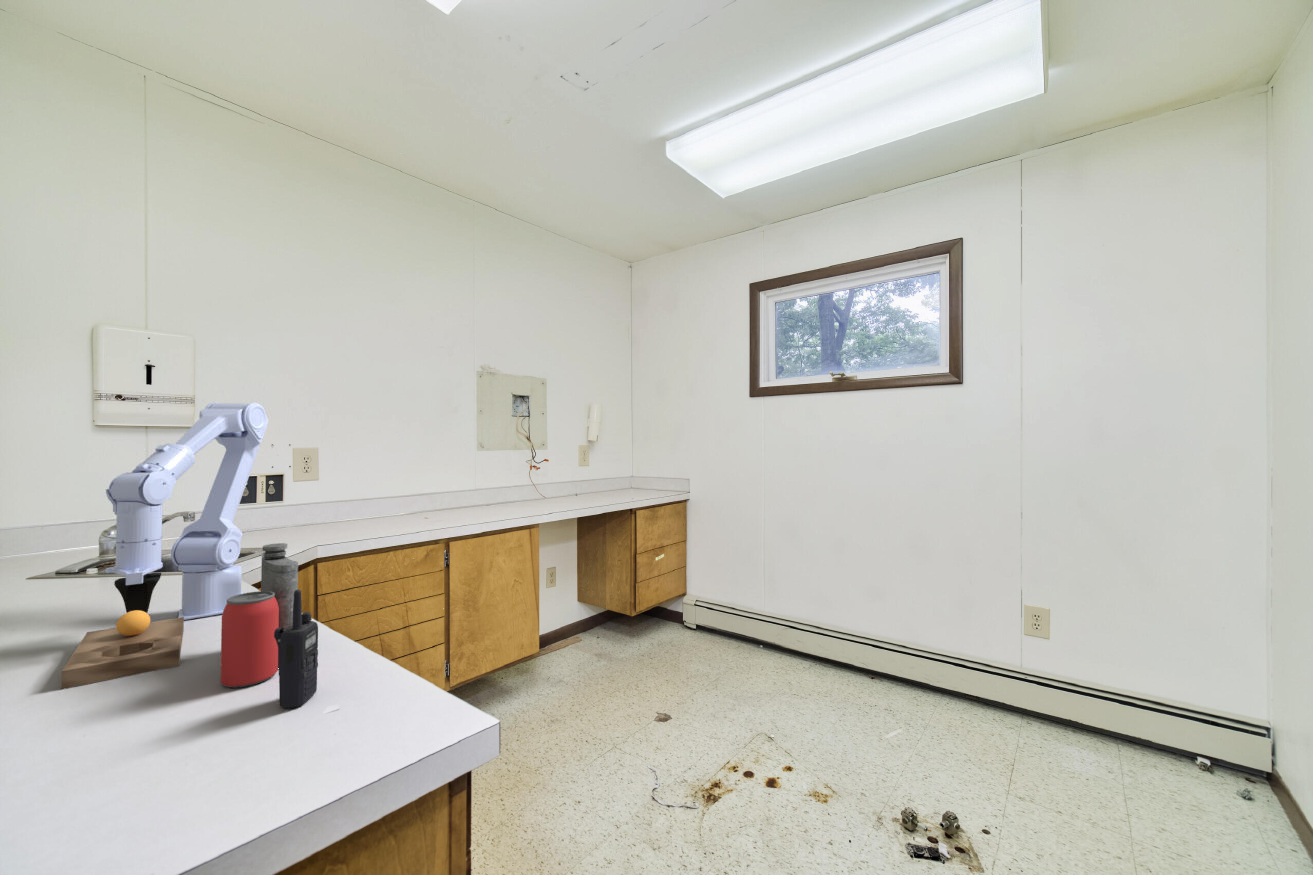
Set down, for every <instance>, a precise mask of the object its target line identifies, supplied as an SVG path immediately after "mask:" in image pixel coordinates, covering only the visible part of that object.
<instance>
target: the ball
mask: <svg viewBox="0 0 1313 875" xmlns="http://www.w3.org/2000/svg"><path fill="white" fill-rule="evenodd" d="M150 622H151V617H150V615H149V614H148V612H147V613H146V612H144V611H140V610H135V611H130V612H128V613H127V612H125V613H124V614H122V615H121V616H120V617H119V618H118V620H117V621H116V625H115V628H116V629H117V631H118V632H119V633H120V634H122V635H125V636H134V635H137V634H140V633H142V632H143V631H145V630H146V629H147V628H148V626H149V624H150Z"/></svg>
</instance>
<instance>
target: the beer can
mask: <svg viewBox="0 0 1313 875" xmlns="http://www.w3.org/2000/svg"><path fill="white" fill-rule="evenodd" d="M274 596H275V593H274V592H270V591H261V590H260V591H252V592H249V591H248V592H246V593H244V592H243V594H239V595H235V596H232V597H230V598H228V599H227V604H226V606H225V608H224V610H223V614H221V631H220V632H221V633H220V634H221V636H220V637H221V639H220V642H221V644H220V683H221V685H222V686H224V687H226V688H233V689H234V688H236V689H237V688H246V686H247V687H250V686H254V685H257V684H261V683H264V682H265V681H268V680H270V679H271V678H273V677H274V676H275V675H276V674H277V672H279V669H278V645H277V642H276V640H275V638H274V631H275V629H277V628H279V607H278V603H277V601H276V598H275V597H274Z"/></svg>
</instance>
